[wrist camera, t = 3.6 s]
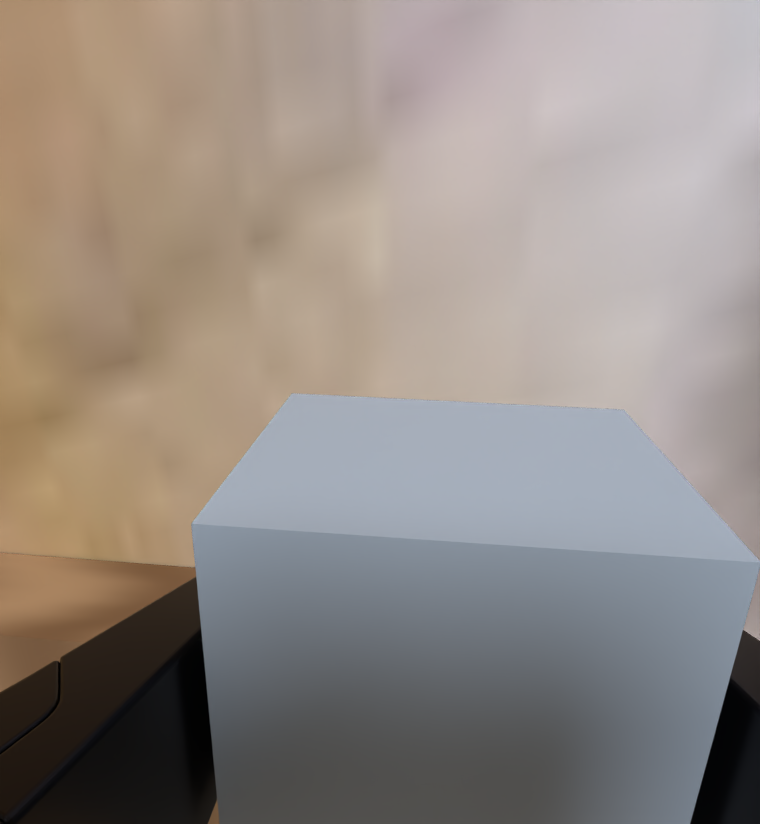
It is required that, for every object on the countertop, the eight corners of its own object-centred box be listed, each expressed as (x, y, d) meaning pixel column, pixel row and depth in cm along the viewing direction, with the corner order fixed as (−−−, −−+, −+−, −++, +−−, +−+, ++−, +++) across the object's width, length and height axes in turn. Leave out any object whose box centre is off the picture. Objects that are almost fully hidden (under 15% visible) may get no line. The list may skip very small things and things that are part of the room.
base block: (321, 577, 15) (295, 661, 13) (323, 848, 19) (303, 963, 16) (-43, 549, 16) (-145, 622, 13) (20, 815, 19) (-50, 918, 17)
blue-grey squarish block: (624, 409, 9) (762, 563, 5) (578, 678, 10) (657, 943, 7) (292, 393, 9) (191, 523, 5) (299, 654, 11) (225, 892, 7)
